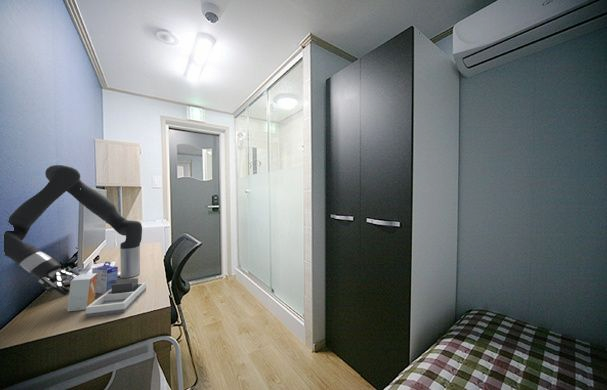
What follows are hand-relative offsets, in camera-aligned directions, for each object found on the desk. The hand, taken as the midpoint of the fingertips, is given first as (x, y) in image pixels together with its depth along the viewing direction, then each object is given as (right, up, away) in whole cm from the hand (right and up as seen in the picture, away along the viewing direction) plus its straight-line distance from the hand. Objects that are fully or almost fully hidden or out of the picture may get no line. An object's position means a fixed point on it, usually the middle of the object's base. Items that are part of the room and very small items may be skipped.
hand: (75, 289), depth 93 cm
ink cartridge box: (-1, -8, +16) cm, 18 cm away
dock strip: (+15, -8, +5) cm, 18 cm away
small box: (+2, -8, +1) cm, 8 cm away
